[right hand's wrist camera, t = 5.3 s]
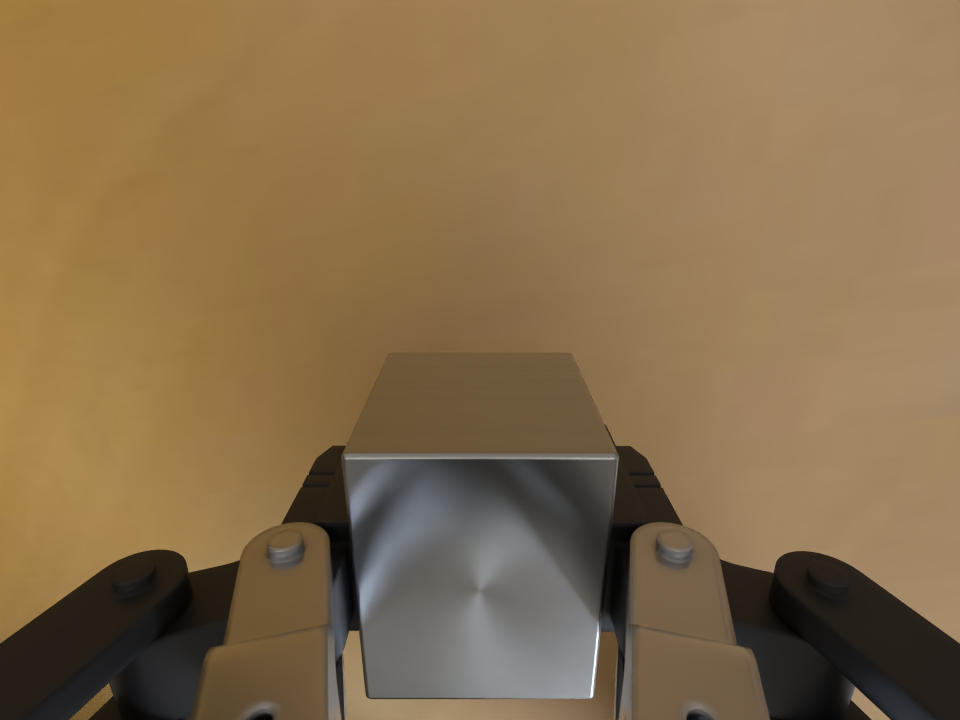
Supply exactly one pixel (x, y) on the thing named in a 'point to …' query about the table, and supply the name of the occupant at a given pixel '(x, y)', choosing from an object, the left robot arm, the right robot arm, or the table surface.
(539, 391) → the block
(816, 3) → the table surface
